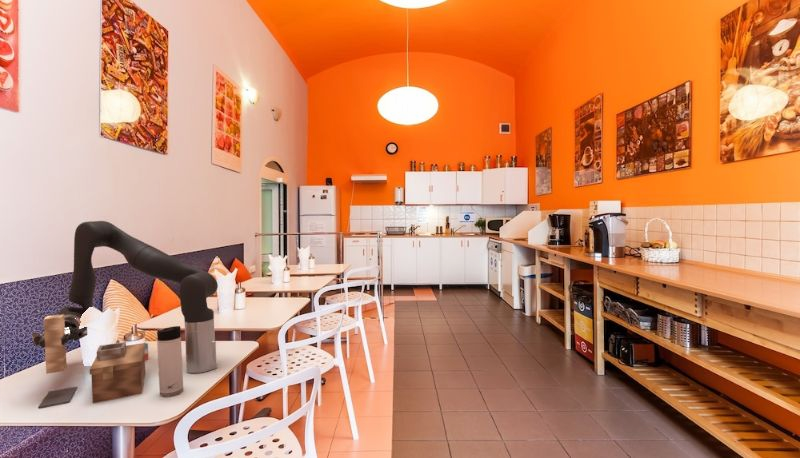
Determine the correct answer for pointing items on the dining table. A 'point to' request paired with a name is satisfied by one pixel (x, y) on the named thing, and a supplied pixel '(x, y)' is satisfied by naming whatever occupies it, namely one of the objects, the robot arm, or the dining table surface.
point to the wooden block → (54, 343)
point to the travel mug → (170, 361)
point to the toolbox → (118, 371)
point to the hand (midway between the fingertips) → (53, 342)
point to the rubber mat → (58, 397)
